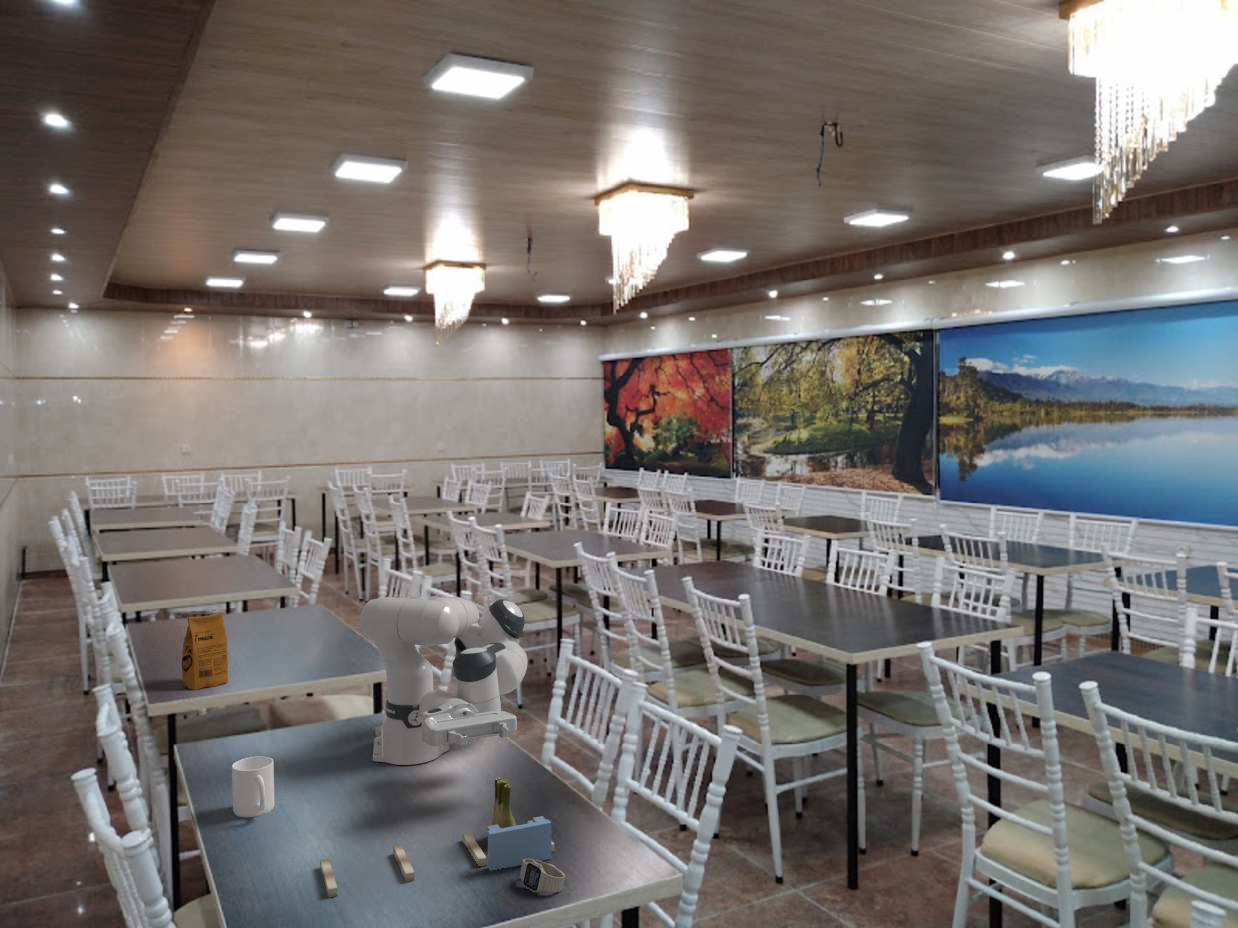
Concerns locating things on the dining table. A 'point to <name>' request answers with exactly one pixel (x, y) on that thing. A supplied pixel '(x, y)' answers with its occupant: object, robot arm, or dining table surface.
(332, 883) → the beige small bars
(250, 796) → the cup
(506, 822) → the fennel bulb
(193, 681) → the coffee package
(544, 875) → the wristwatch
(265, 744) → the dining table surface
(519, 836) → the blue notched panel
